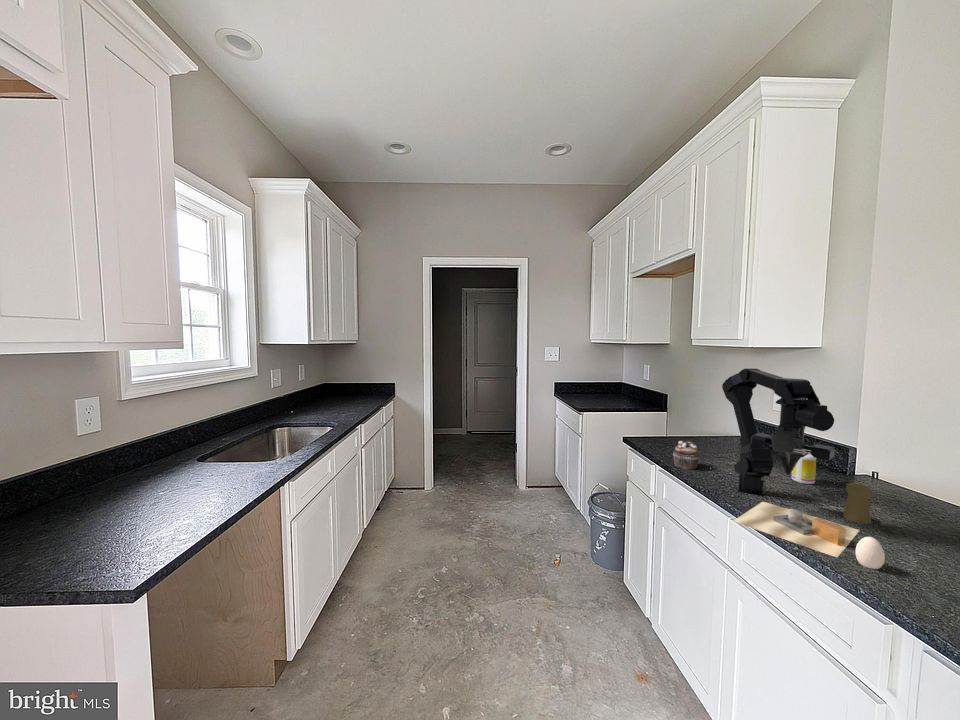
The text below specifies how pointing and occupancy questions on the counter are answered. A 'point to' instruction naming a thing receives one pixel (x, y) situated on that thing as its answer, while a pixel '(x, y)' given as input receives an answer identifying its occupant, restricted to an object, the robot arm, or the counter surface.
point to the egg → (870, 553)
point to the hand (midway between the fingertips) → (788, 473)
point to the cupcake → (686, 455)
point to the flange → (816, 528)
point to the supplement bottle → (805, 470)
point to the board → (764, 522)
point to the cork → (858, 503)
